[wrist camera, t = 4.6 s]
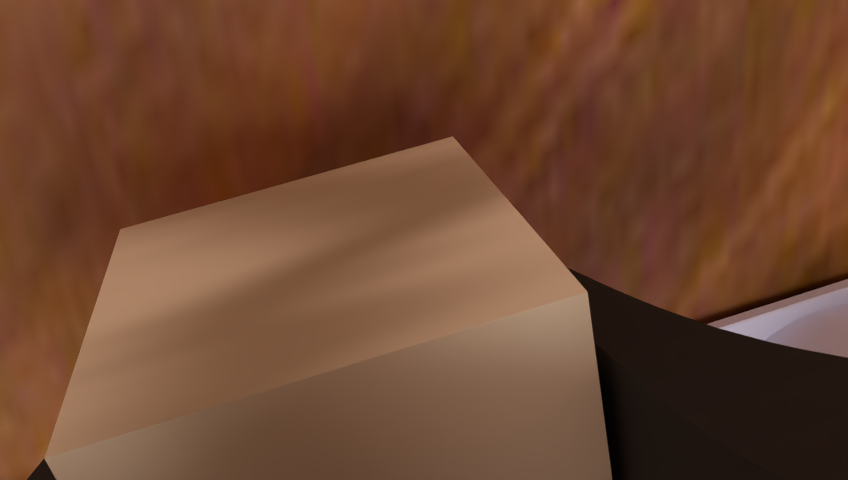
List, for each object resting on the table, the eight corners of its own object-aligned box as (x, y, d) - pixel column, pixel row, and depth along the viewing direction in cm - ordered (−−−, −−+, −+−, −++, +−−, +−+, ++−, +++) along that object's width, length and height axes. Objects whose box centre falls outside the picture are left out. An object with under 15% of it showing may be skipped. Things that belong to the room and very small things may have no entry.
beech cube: (452, 135, 12) (587, 291, 7) (505, 396, 14) (633, 637, 9) (120, 228, 11) (44, 457, 7) (231, 484, 13) (229, 783, 9)
